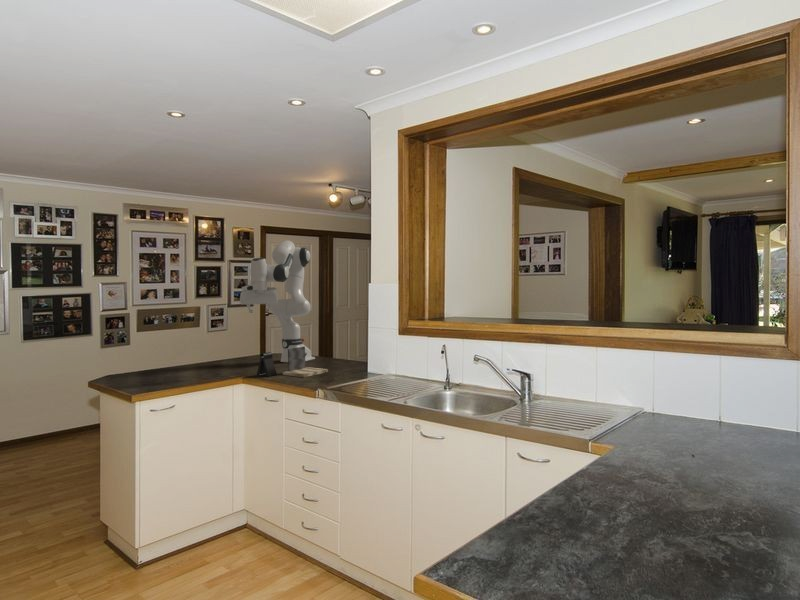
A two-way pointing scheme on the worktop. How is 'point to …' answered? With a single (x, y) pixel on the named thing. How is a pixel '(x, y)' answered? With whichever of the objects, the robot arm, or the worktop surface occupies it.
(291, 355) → the l-shaped stand
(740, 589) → the worktop surface
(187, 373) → the worktop surface
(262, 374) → the door stopper
